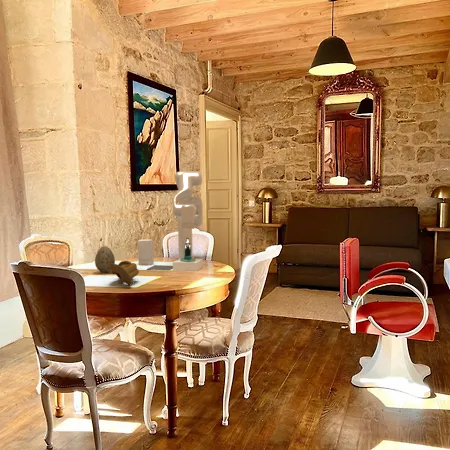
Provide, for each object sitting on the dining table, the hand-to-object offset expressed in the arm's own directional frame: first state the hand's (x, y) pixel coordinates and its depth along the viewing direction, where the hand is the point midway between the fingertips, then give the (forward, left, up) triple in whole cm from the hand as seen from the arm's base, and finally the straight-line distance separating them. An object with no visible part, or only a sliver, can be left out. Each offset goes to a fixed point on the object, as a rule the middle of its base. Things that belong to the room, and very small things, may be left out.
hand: (187, 254), depth 253 cm
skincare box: (-13, -31, -9) cm, 35 cm away
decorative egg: (+19, -43, -9) cm, 48 cm away
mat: (0, -16, -8) cm, 18 cm away
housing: (0, 0, -8) cm, 8 cm away
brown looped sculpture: (+44, -20, -9) cm, 49 cm away
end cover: (0, 0, -8) cm, 8 cm away
